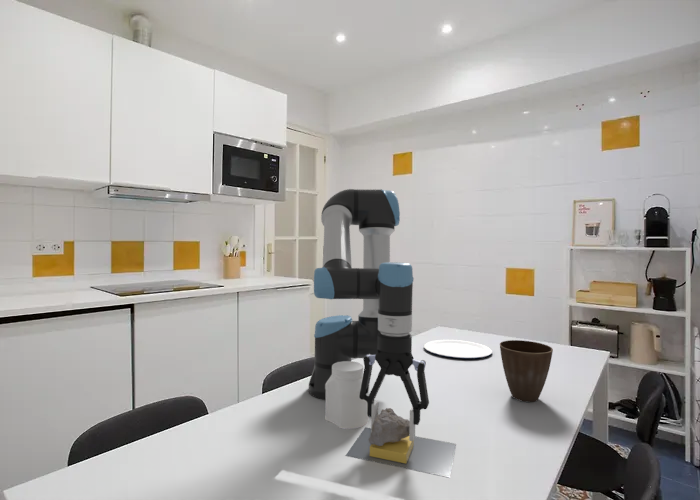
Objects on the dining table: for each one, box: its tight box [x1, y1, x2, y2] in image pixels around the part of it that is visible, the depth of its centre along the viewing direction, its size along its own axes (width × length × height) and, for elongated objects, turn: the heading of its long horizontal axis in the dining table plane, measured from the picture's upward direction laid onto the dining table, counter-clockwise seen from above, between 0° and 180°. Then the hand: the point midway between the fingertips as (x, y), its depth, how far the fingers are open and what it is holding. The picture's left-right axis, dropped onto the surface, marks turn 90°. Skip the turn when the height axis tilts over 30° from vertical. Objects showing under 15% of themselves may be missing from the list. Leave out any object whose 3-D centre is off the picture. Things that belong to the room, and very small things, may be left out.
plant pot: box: [499, 339, 554, 403], centre depth 121 cm, size 15×15×16 cm
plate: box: [423, 339, 493, 360], centre depth 174 cm, size 29×29×2 cm
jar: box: [324, 360, 370, 430], centre depth 103 cm, size 12×10×15 cm
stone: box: [368, 407, 410, 446], centre depth 87 cm, size 10×8×6 cm
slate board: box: [345, 426, 457, 479], centre depth 88 cm, size 22×14×1 cm, turn 70°
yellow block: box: [370, 436, 414, 463], centre depth 87 cm, size 8×2×8 cm
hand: (393, 434), depth 87 cm, fingers closed on stone, 8 cm apart
